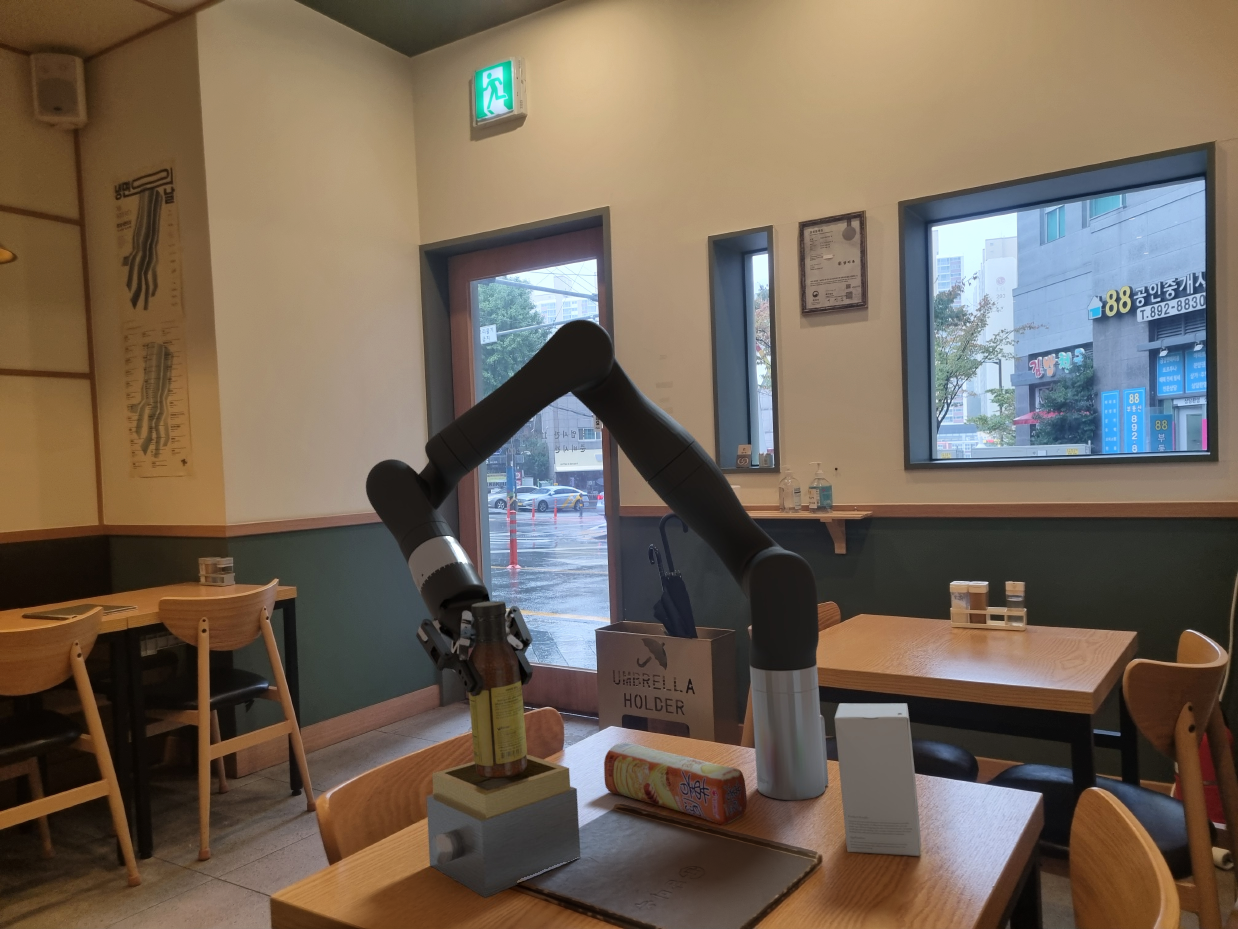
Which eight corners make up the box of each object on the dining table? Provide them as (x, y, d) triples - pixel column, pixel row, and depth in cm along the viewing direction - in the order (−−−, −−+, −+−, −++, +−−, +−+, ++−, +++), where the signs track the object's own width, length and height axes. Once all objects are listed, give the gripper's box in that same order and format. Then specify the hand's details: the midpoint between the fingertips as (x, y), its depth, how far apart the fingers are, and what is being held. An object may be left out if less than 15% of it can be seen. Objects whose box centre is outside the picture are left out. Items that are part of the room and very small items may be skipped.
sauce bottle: (532, 763, 102) (525, 598, 102) (521, 780, 95) (513, 605, 96) (479, 764, 102) (472, 600, 103) (465, 781, 96) (458, 607, 97)
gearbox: (521, 831, 107) (517, 748, 107) (580, 858, 98) (575, 767, 98) (414, 871, 97) (410, 779, 98) (469, 904, 88) (464, 803, 89)
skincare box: (920, 836, 99) (911, 702, 99) (921, 860, 92) (911, 717, 93) (847, 830, 101) (838, 700, 102) (843, 853, 95) (833, 714, 96)
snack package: (752, 814, 109) (749, 762, 109) (721, 831, 104) (717, 775, 104) (633, 783, 124) (630, 736, 124) (601, 796, 119) (598, 747, 119)
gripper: (404, 565, 101) (460, 677, 91) (505, 554, 110) (565, 655, 101) (386, 607, 104) (438, 719, 95) (485, 593, 114) (541, 694, 105)
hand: (503, 685), depth 98 cm, fingers closed on sauce bottle, 6 cm apart
